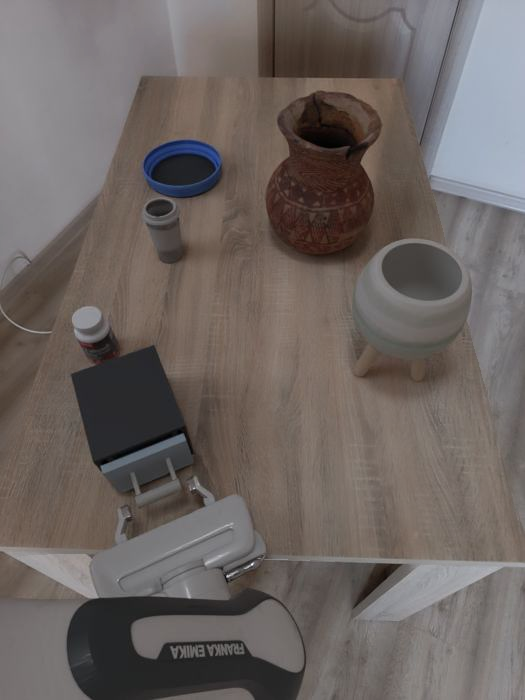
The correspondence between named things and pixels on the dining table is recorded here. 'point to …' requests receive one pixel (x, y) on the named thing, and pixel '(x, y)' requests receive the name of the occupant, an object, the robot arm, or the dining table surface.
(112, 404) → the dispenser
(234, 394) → the dining table surface
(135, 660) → the robot arm
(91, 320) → the pill bottle
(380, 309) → the planter
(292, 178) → the clay vase
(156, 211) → the cup
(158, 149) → the bowl
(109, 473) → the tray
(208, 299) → the dining table surface
